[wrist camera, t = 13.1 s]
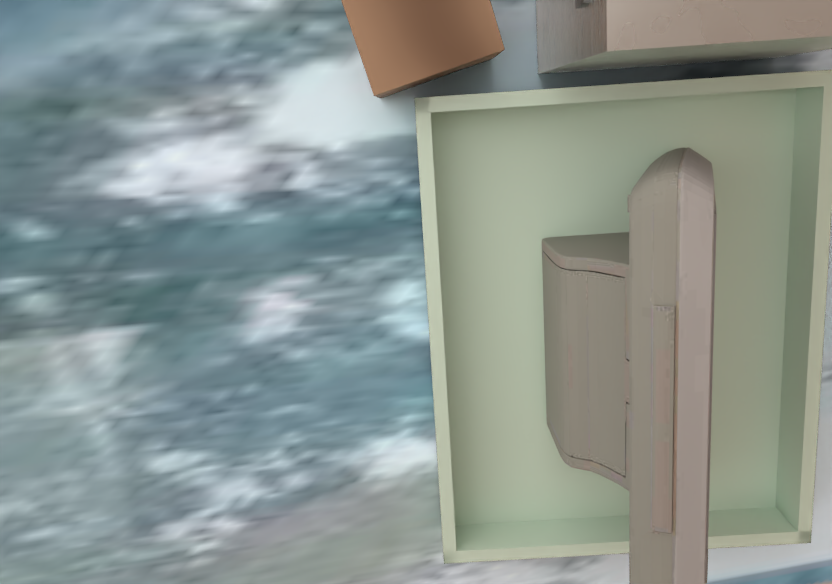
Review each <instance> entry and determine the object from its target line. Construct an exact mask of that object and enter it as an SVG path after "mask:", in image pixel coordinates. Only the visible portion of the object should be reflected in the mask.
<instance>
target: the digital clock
mask: <svg viewBox="0 0 832 584" xmlns="http://www.w3.org/2000/svg"><path fill="white" fill-rule="evenodd" d="M627 203H628V212H629V232H621V233H606V234H591V235H576V236H561V237H548V238H544V239H542V272H543V308H544V344H545V379H546V415H547V425H548V428H549V430H550V433H551V435H552V438H553V440H554V442H555V445H556V447H557V450H558V452H559V454H560V456H561V458H562V459H563V461H564V462H565V463H566V464H567V465H569V466H570V467H572V468H577V469H581V470H587V471H591V472H594V473H597V474H599V475H601V476H603V477H605V478H607V479H609V480H611V481H613V482H615V483H617V484H619V485H620V486H622V487H623V488H625V489H627V490H628V491H629V563H630V584H705V583H707V567H708V529H709V490H710V452H711V414H712V375H713V337H714V299H715V261H716V222H717V213H716V202H715V192H714V178H713V169H712V163H711V162H710V161H709V160H707V159H706V158H704V157H703V156H702V155H700V154H699V153H697V152H695V151H694V150H692V149H691V148H689V147H687V148H677V149H674V150H671V151H668V152H666V153H665V154H663V155H662V156H660V157H659V158H657V159H656V160H655V161H654V162H653V163H652V164H650V166H649V167H648V168H647V170H646V171H645V172H644V174H643V175H642V176H641V178H640V179H639V180H638V182H637V183H636V185H635V186H634V187H633V189H632V191H631V195H628V196H627ZM652 407H653V415H652Z"/></svg>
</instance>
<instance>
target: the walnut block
mask: <svg viewBox="0 0 832 584" xmlns="http://www.w3.org/2000/svg"><path fill="white" fill-rule="evenodd" d="M342 3H343V6H344V9H345V12H346V15H347V18H348V21H349V24H350V27H351V30H352V33H353V36H354V38H355V41H356V44H357V47H358V50H359V53H360V56H361V59H362V62H363V65H364V68H365V71H366V73H367V76H368V79H369V82H370V85H371V88H372V91H373V94H374V96H376V97H379V98H383V97H385V96H388V95H391V94H394V93H397V92H400V91H402V90H405V89H408V88H411V87H414V86H417V85H419V84H422V83H425V82H428V81H431V80H434V79H436V78H439V77H442V76H445V75H448V74H451V73H453V72H456V71H459V70H462V69H465V68H468V67H470V66H473V65H476V64H479V63H482V62H485V61H487V60H490V59H492V58H494V57H495V56H496V55H498V54H499V53H501V52H502V51H503V50H505V49H504V45H503V42H502V39H501V35H500V32H499V29H498V25H497V22H496V19H495V15H494V12H493V9H492V5H491V2H490V0H342Z"/></svg>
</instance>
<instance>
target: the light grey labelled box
mask: <svg viewBox="0 0 832 584" xmlns="http://www.w3.org/2000/svg"><path fill="white" fill-rule="evenodd" d="M536 20H537V58H538V74H543V73H558V72H573V71H588V70H603V69H617V68H632V67H647V66H662V65H676V64H691V63H706V62H721V61H735V60H750V59H765V58H777V57H783V56H790V55H796V54H803V53H809V52H815V51H822V50H828V49H832V0H536Z"/></svg>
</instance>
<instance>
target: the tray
mask: <svg viewBox="0 0 832 584" xmlns="http://www.w3.org/2000/svg"><path fill="white" fill-rule="evenodd" d="M414 99H415V115H416V131H417V146H418V162H419V178H420V194H421V209H422V225H423V241H424V257H425V272H426V288H427V304H428V320H429V335H430V351H431V367H432V382H433V398H434V414H435V430H436V445H437V461H438V477H439V493H440V508H441V524H442V540H443V556H444V564H446V563H464V562H481V561H499V560H517V559H534V558H552V557H570V556H587V555H605V554H623V553H629V491H628V490H627V489H625V488H623V487H622V486H620V485H619V484H617V483H615V482H613V481H611V480H609V479H607V478H605V477H603V476H601V475H599V474H597V473H594V472H591V471H587V470H581V469H577V468H572V467H570V466H569V465H567V464H566V463H565V462H564V461H563V459H562V458H561V456H560V454H559V452H558V450H557V447H556V445H555V442H554V440H553V438H552V435H551V433H550V430H549V428H548V425H547V415H546V379H545V344H544V308H543V272H542V239H544V238H548V237H561V236H576V235H591V234H606V233H621V232H629V212H628V203H627V196H628V195H631V191H632V189H633V187H634V186H635V185H636V183H637V182H638V180H639V179H640V178H641V176H642V175H643V174H644V172H645V171H646V170H647V168H648V167H649V166H650V164H652V163H653V162H654V161H655V160H656V159H657V158H659V157H660V156H662V155H663V154H665V153H666V152H668V151H671V150H674V149H677V148H687V147H689V148H691V149H692V150H694V151H695V152H697V153H699V154H700V155H702V156H703V157H704V158H706V159H707V160H709V161H710V162H711V163H712V169H713V178H714V192H715V202H716V213H717V222H716V261H715V299H714V337H713V375H712V414H711V452H710V490H709V529H708V549H711V548H729V547H746V546H764V545H782V544H800V543H811V531H812V515H813V499H814V483H815V467H816V451H817V435H818V419H819V404H820V388H821V372H822V356H823V340H824V324H825V308H826V292H827V276H828V260H829V244H830V228H831V212H832V70H821V71H806V72H792V73H777V74H762V75H747V76H732V77H717V78H702V79H688V80H673V81H658V82H643V83H628V84H613V85H598V86H584V87H569V88H554V89H539V90H524V91H509V92H494V93H480V94H465V95H450V96H435V97H420V98H414ZM652 415H653V407H652Z"/></svg>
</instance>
